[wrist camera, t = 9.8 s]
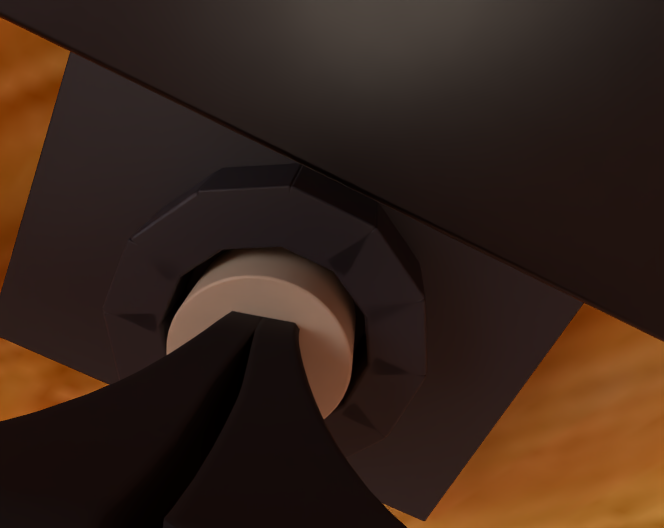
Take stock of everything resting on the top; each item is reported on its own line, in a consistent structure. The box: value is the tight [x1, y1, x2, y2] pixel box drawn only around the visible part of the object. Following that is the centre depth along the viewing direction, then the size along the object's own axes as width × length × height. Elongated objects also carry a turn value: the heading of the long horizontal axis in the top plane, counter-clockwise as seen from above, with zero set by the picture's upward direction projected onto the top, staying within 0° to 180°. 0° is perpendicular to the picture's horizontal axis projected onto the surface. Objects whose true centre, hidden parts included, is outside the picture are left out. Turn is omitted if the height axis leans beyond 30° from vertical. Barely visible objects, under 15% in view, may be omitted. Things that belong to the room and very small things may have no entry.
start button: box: [166, 247, 356, 419], centre depth 13 cm, size 4×4×2 cm
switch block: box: [0, 51, 583, 521], centre depth 14 cm, size 12×8×3 cm, turn 64°
